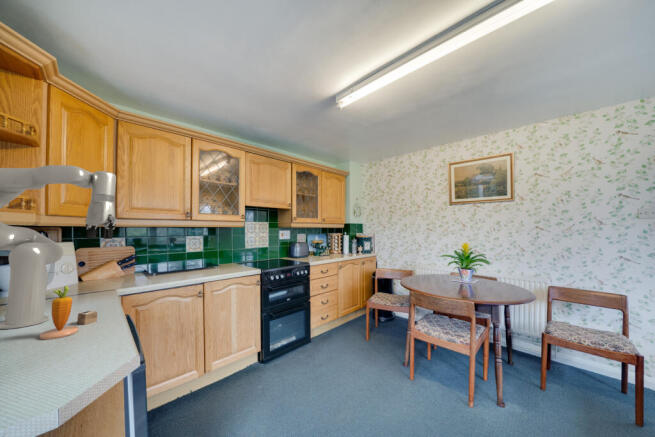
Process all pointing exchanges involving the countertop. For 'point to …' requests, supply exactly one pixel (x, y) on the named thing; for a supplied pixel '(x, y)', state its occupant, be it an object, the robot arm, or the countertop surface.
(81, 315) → the letter cube
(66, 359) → the countertop surface
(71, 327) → the peach glossy dome
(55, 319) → the carrot
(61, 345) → the countertop surface
